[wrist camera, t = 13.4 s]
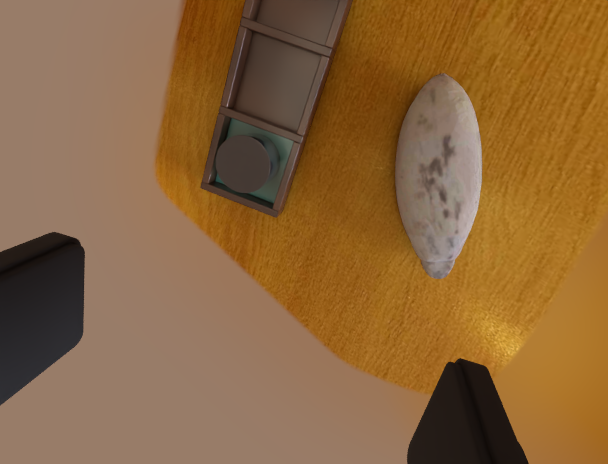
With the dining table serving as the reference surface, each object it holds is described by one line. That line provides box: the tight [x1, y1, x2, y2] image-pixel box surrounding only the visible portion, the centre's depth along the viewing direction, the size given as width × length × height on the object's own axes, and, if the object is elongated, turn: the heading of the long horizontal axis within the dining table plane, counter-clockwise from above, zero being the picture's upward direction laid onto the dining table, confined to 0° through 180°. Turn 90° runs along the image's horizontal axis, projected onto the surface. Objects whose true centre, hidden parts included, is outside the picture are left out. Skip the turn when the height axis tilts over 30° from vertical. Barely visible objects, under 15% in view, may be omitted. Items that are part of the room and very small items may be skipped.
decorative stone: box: [395, 73, 482, 279], centre depth 28 cm, size 6×16×3 cm, turn 8°
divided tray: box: [200, 0, 353, 218], centre depth 29 cm, size 20×7×2 cm, turn 161°
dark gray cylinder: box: [216, 133, 280, 193], centre depth 30 cm, size 4×4×3 cm
